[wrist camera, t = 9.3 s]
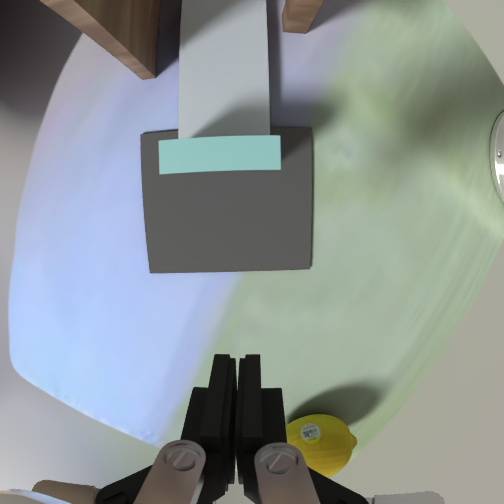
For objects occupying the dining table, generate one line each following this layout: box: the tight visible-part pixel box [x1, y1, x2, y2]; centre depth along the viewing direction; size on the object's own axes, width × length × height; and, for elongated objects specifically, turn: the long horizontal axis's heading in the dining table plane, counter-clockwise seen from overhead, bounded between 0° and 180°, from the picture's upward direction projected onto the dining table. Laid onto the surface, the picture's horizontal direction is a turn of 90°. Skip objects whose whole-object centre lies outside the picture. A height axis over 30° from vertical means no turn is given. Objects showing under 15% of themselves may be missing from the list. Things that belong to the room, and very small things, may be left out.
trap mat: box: [141, 127, 312, 273], centre depth 25 cm, size 14×12×1 cm
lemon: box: [286, 414, 357, 477], centre depth 28 cm, size 11×8×8 cm
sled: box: [159, 0, 281, 174], centre depth 17 cm, size 8×22×7 cm, turn 1°
